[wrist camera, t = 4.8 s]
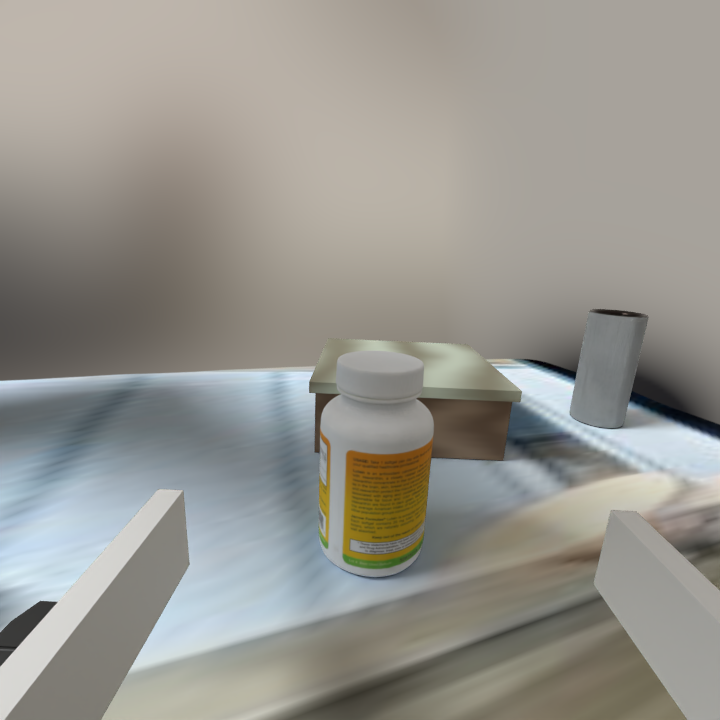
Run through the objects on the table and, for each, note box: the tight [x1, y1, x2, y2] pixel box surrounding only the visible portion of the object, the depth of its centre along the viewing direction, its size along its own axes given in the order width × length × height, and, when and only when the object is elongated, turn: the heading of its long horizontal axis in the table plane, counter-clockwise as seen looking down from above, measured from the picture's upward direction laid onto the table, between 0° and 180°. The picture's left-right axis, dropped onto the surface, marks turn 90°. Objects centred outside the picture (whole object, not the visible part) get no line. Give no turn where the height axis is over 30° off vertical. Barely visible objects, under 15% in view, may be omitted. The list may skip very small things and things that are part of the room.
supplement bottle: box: [319, 351, 434, 577], centre depth 19 cm, size 5×5×10 cm
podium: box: [309, 339, 522, 460], centre depth 35 cm, size 15×15×6 cm
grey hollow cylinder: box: [570, 309, 648, 428], centre depth 36 cm, size 4×4×10 cm
